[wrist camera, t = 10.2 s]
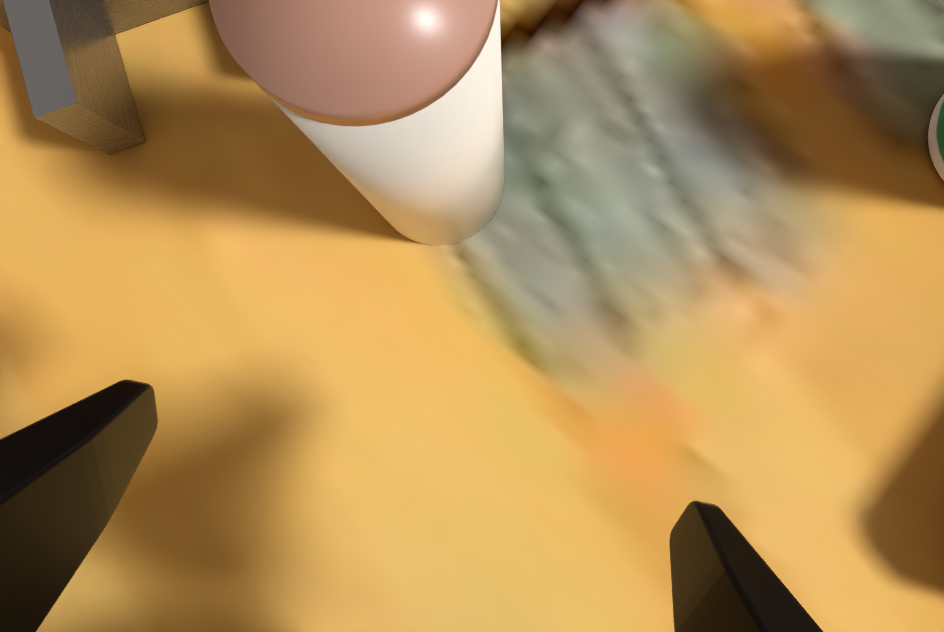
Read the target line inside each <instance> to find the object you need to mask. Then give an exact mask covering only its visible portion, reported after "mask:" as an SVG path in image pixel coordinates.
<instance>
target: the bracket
mask: <svg viewBox="0 0 944 632" xmlns="http://www.w3.org/2000/svg"><path fill="white" fill-rule="evenodd" d="M207 1H209V0H0V26H1V27H3V28H4V29H6V30H8V31H9V32H11V33H12V36H13V40H14V44H15V48H16V51H17V55H18V59H19V63H20V67H21V70H22V74H23V78H24V82H25V85H26V89H27V93H28V97H29V101H30V104H31V108H32V112H33V116H34V118H35V119H37V120H39V121H41V122H43V123H45V124H47V125H49V126H51V127H54V128H56V129H58V130H60V131H62V132H64V133H66V134H68V135H70V136H72V137H74V138H76V139H78V140H80V141H82V142H84V143H86V144H88V145H90V146H93V147H95V148H97V149H99V150H101V151H103V152H105V153H107V154H111V153H114V152H117V151H120V150H123V149H126V148H129V147H132V146H134V145H137V144H140V143H143V142H145V140H144V137H143V133H142V130H141V126H140V122H139V119H138V115H137V112H136V108H135V105H134V101H133V97H132V94H131V90H130V87H129V83H128V80H127V76H126V72H125V69H124V65H123V62H122V58H121V54H120V51H119V47H118V44H117V40H116V37H115V34H117V33H119V32H122V31H125V30H128V29H131V28H134V27H136V26H139V25H142V24H145V23H148V22H151V21H153V20H156V19H159V18H162V17H165V16H168V15H170V14H173V13H176V12H179V11H182V10H185V9H187V8H190V7H193V6H196V5H199V4H201V3H204V2H207Z"/></svg>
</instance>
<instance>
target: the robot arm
mask: <svg viewBox="0 0 944 632" xmlns="http://www.w3.org/2000/svg"><path fill="white" fill-rule="evenodd" d="M157 422H158V419H157V411H156V402H155V394H154V389H153V387H152V386H151V385H149V384H147V383H143V382H138V381H133V380H122V381H119V382H117V383H115V384H113V385H111V386H109V387H107V388H105V389H103V390H101V391H99V392H97V393H95V394H93V395H90V396H88V397H86V398H84V399H82V400H80V401H78V402H76V403H74V404H72V405H70V406H68V407H66V408H64V409H62V410H60V411H58V412H55V413H53V414H51V415H49V416H47V417H45V418H43V419H41V420H39V421H37V422H35V423H33V424H31V425H29V426H27V427H25V428H23V429H21V430H18V431H16V432H14V433H12V434H10V435H8V436H6V437H4V438H2V439H0V632H36V631H37V629H38V628H39V626H40V625H41V623H42V622H43V620H44V619H45V617H46V616H47V614H48V613H49V611H50V610H51V608H52V607H53V605H54V604H55V602H56V601H57V599H58V598H59V596H60V595H61V593H62V592H63V590H64V589H65V587H66V586H67V584H68V583H69V581H70V580H71V578H72V577H73V575H74V574H75V572H76V571H77V569H78V568H79V566H80V565H81V563H82V562H83V560H84V558H85V557H86V555H87V554H88V552H89V551H90V549H91V548H92V546H93V545H94V543H95V542H96V540H97V539H98V537H99V536H100V534H101V533H102V531H103V530H104V528H105V527H106V525H107V523H108V522H109V520H110V518H111V517H112V515H113V513H114V511H115V509H116V508H117V506H118V504H119V502H120V500H121V498H122V496H123V494H124V492H125V490H126V488H127V486H128V485H129V483H130V481H131V479H132V477H133V475H134V473H135V471H136V469H137V467H138V465H139V463H140V461H141V459H142V457H143V456H144V454H145V452H146V450H147V448H148V446H149V444H150V442H151V440H152V438H153V436H154V434H155V431H156V428H157ZM670 561H671V580H672V598H673V617H674V629H675V632H823V631H822V630H821V628H820V627H819V626H818V625H817V624H816V622H815V621H814V620H813V619H812V618H811V616H810V615H809V614H808V613H807V612H806V610H805V609H804V608H803V607H802V606H801V604H800V603H799V602H798V601H797V600H796V598H795V597H794V596H793V595H792V594H791V592H790V591H789V590H788V589H787V588H786V586H785V585H784V584H783V583H782V582H781V580H780V579H779V578H778V577H777V576H776V574H775V573H774V572H773V571H772V570H771V568H770V567H769V566H768V565H767V564H766V562H765V561H764V560H763V559H762V558H761V557H760V555H759V554H758V553H757V552H756V551H755V549H754V548H753V547H752V546H751V545H750V543H749V542H748V541H747V540H746V539H745V537H744V536H743V535H742V534H741V533H740V531H739V530H738V529H737V528H736V527H735V525H734V524H733V523H732V522H731V521H730V519H729V518H728V517H727V516H726V515H725V513H724V512H723V511H722V510H721V509H720V508H719V507H718V506H716V505H714V504H710V503H705V502H700V501H692V502H691V503H689V505H688V506H687V507H686V509H685V510H684V512H683V513H682V515H681V516H680V518H679V519H678V521H677V522H676V524H675V525H674V527H673V529H672V531H671V535H670Z"/></svg>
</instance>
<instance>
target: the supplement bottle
mask: <svg viewBox="0 0 944 632" xmlns="http://www.w3.org/2000/svg"><path fill="white" fill-rule="evenodd" d="M928 144H929V152H930V155H931V159H932V161H933V164H934V166H935V168H936V170H937V172H938V174H939V175H940V177H941V178H942V179H943V181H944V94H943V95H942V97H941V98H940V100H939V101H938V103H937V105H936V107H935V109H934V111H933V114H932V117H931V120H930V124H929V131H928Z"/></svg>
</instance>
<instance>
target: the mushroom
mask: <svg viewBox="0 0 944 632" xmlns="http://www.w3.org/2000/svg"><path fill="white" fill-rule="evenodd" d="M209 4H210V9H211V13H212V16H213V19H214V22H215V26H216V28H217V30H218V32H219V34H220V37H221V39H222V41H223V43H224V44H225V46H226V48H227V49H228V51H229V52H230V54H231V55H232V57H233V58H234V59H235V61H236V62H237V63H238V64H239V65H240V66H241V68H242V69H243V70H244V71H245V72H246V73H247V74H248V75H249V76H250V77H251V78H252V80H253V81H254V82H255V83H256V84H257V85H258V86H259V87H260V88H261V89H262V90H263V91H264V92H265V93H266V94H267V95H268V96H269V97H270V98H271V99H272V101H273V102H274V103H275V104H276V105H277V106H278V107H279V108H280V109H281V110H282V111H283V112H284V113H285V114H286V115H287V116H288V117H289V118H290V119H291V121H292V122H293V123H294V124H295V125H296V126H297V127H298V128H299V129H300V130H301V131H302V132H303V133H304V134H305V135H306V136H307V137H308V138H309V139H310V140H311V142H312V143H313V144H314V145H315V146H316V147H317V148H318V149H319V150H320V151H321V152H322V153H323V154H324V155H325V156H326V157H327V158H328V159H329V160H330V161H331V163H332V164H333V165H334V166H335V167H336V168H337V169H338V170H339V171H340V172H341V173H342V174H343V175H344V176H345V177H346V178H347V179H348V180H349V181H350V183H351V184H352V185H353V186H354V187H355V188H356V189H357V190H358V191H359V192H360V193H361V194H362V195H363V196H364V197H365V198H366V199H367V200H368V201H369V202H370V204H371V205H372V206H373V207H374V208H375V209H376V210H377V211H378V212H379V213H380V214H381V215H382V216H383V217H384V218H385V219H386V220H387V221H388V222H389V223H390V225H391V226H392V227H393V228H395V229H396V230H397V231H398V232H399V233H401V234H402V235H404V236H405V237H407V238H409V239H411V240H413V241H415V242H418V243H421V244H426V245H435V246H441V245H450V244H455V243H458V242H461V241H464V240H466V239H468V238H470V237H472V236H473V235H475V234H476V233H478V232H479V231H480V230H481V229H483V228H484V227H485V226H486V225H487V224H488V222H489V221H490V220H491V219H492V217H493V216H494V214H495V213H496V211H497V209H498V207H499V205H500V202H501V199H502V196H503V191H504V146H503V111H502V76H501V41H500V6H499V0H209Z"/></svg>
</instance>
